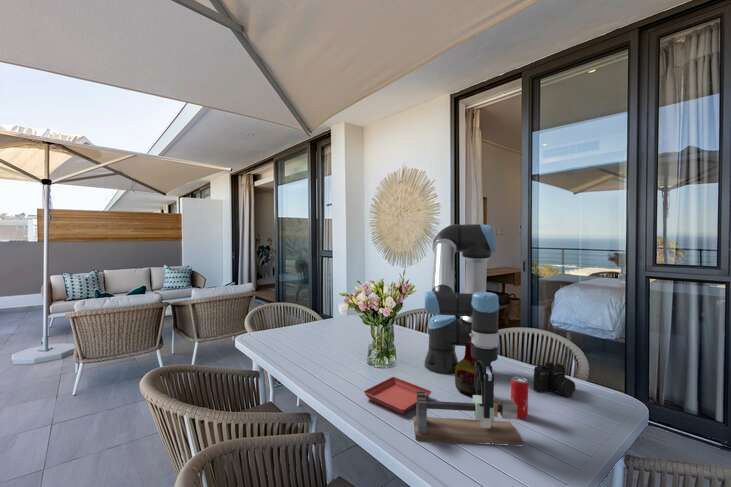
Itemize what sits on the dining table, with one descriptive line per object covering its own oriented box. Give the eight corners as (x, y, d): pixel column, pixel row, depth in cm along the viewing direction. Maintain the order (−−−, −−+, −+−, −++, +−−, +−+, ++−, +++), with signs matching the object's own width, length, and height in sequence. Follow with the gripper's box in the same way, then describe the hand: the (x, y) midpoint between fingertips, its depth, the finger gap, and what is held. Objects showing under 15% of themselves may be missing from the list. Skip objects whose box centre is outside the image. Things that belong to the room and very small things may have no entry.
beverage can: (512, 409, 115) (513, 375, 115) (529, 414, 112) (530, 379, 112) (508, 415, 111) (509, 380, 111) (525, 421, 108) (525, 384, 108)
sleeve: (472, 411, 104) (472, 395, 104) (489, 411, 103) (489, 395, 103) (476, 419, 99) (476, 403, 99) (493, 420, 98) (494, 404, 98)
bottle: (488, 397, 124) (489, 343, 124) (478, 402, 120) (479, 347, 120) (461, 385, 134) (462, 335, 133) (451, 390, 130) (452, 338, 129)
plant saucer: (432, 399, 123) (432, 390, 123) (403, 419, 110) (403, 409, 109) (393, 384, 135) (393, 376, 135) (362, 400, 122) (362, 391, 122)
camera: (552, 401, 122) (552, 373, 122) (529, 388, 132) (530, 363, 132) (581, 396, 126) (582, 369, 126) (557, 384, 136) (558, 359, 136)
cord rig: (413, 420, 108) (414, 388, 108) (510, 426, 105) (511, 393, 105) (415, 439, 98) (415, 404, 98) (522, 446, 95) (523, 409, 95)
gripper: (465, 335, 110) (463, 405, 110) (478, 355, 92) (477, 439, 92) (488, 336, 109) (487, 407, 110) (507, 356, 91) (505, 440, 92)
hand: (482, 421), depth 101 cm, fingers closed on sleeve, 5 cm apart
